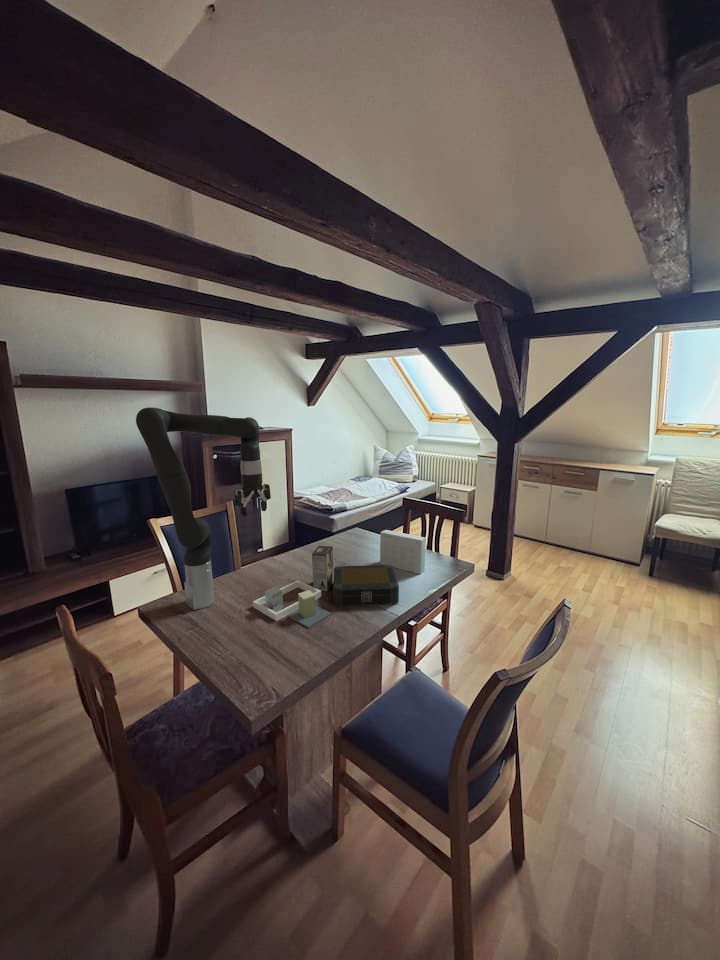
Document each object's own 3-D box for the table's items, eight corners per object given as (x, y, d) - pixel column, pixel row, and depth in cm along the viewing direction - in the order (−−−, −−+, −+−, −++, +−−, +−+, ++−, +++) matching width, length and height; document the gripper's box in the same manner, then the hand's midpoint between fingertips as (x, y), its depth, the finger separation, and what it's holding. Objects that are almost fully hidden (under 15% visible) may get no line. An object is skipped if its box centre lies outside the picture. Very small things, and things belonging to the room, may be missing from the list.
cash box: (333, 607, 143) (333, 589, 141) (334, 582, 163) (334, 565, 161) (399, 606, 144) (399, 587, 142) (392, 580, 164) (392, 564, 162)
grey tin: (273, 613, 139) (272, 595, 137) (265, 609, 142) (264, 591, 140) (283, 608, 142) (282, 590, 141) (275, 604, 145) (274, 586, 144)
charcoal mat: (308, 628, 130) (308, 626, 130) (288, 616, 137) (288, 615, 137) (331, 614, 138) (331, 613, 138) (310, 604, 145) (310, 602, 145)
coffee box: (319, 579, 165) (318, 544, 161) (333, 581, 163) (333, 546, 160) (312, 590, 156) (311, 553, 152) (327, 591, 155) (327, 554, 151)
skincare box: (425, 570, 173) (426, 537, 170) (420, 574, 169) (421, 541, 165) (384, 559, 184) (385, 528, 181) (379, 563, 180) (379, 532, 177)
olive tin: (304, 618, 135) (303, 598, 133) (298, 612, 139) (298, 593, 137) (315, 614, 137) (315, 595, 136) (310, 608, 141) (309, 589, 139)
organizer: (276, 621, 134) (275, 614, 134) (253, 607, 143) (253, 601, 143) (321, 596, 151) (321, 590, 150) (298, 585, 159) (298, 580, 159)
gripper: (261, 468, 149) (264, 507, 152) (228, 473, 138) (232, 516, 142) (273, 470, 144) (275, 511, 148) (240, 476, 134) (243, 520, 137)
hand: (254, 513), depth 145 cm, fingers open, 8 cm apart
